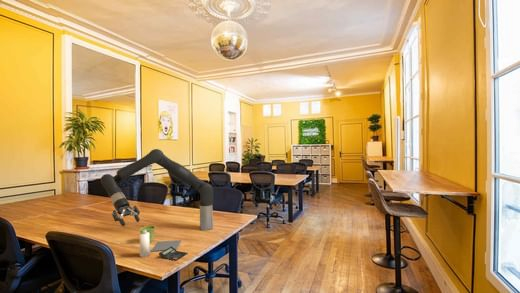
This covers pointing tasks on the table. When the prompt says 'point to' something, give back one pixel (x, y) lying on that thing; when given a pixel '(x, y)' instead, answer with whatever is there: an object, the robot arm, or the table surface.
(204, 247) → the table surface
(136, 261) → the table surface
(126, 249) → the table surface
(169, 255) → the calculator
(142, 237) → the bottle
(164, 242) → the mat
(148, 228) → the plant pot
